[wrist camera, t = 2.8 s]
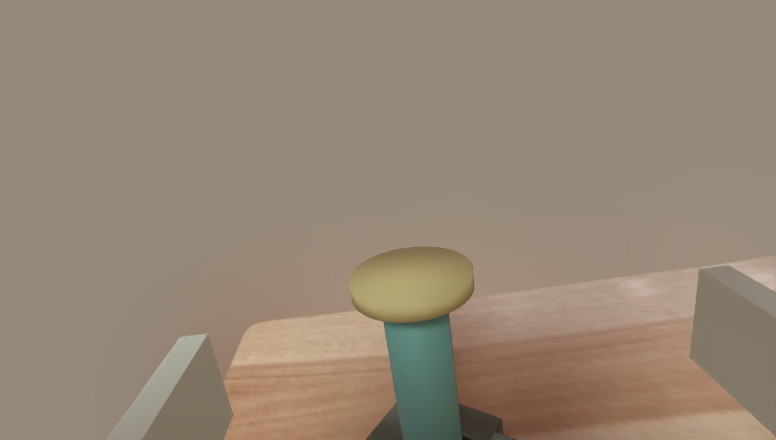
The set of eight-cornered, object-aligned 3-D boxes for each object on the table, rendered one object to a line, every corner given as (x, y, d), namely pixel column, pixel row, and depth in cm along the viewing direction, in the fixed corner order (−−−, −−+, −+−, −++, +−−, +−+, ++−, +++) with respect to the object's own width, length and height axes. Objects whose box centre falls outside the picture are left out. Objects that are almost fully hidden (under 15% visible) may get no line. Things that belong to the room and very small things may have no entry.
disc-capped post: (422, 442, 41) (393, 241, 34) (507, 479, 36) (492, 254, 29) (370, 516, 35) (323, 290, 28) (464, 571, 30) (434, 316, 23)
